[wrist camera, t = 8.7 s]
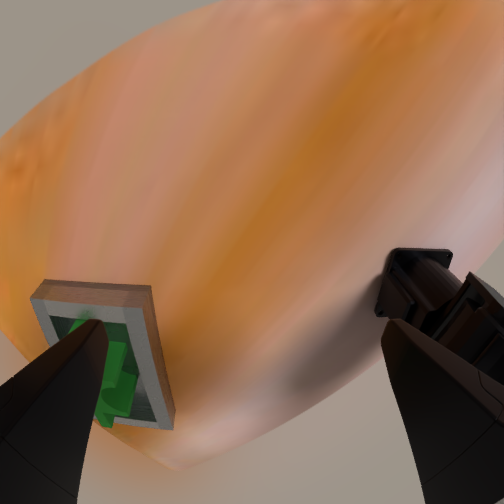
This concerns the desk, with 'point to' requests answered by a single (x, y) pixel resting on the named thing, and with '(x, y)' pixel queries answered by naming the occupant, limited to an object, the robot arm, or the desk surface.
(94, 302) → the gray rectangular tray
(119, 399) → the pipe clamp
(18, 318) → the desk surface
